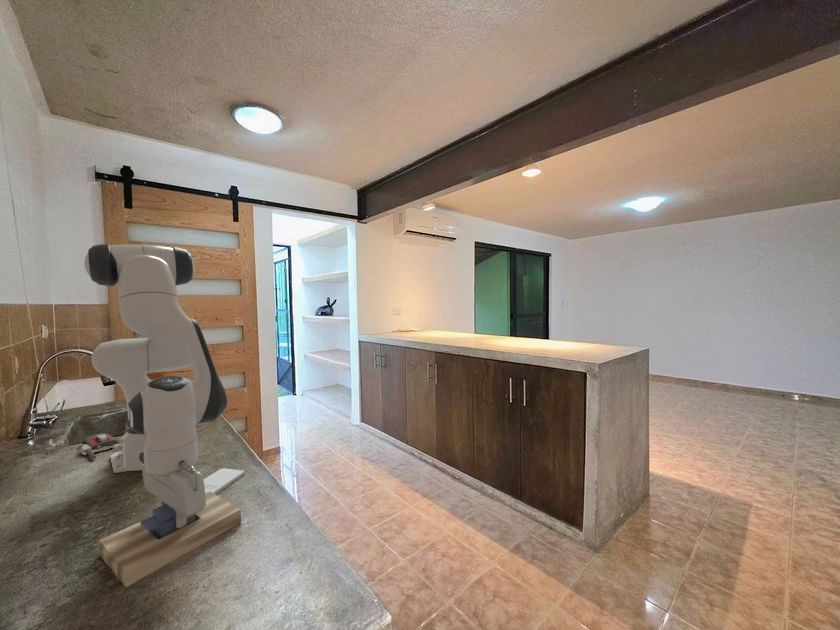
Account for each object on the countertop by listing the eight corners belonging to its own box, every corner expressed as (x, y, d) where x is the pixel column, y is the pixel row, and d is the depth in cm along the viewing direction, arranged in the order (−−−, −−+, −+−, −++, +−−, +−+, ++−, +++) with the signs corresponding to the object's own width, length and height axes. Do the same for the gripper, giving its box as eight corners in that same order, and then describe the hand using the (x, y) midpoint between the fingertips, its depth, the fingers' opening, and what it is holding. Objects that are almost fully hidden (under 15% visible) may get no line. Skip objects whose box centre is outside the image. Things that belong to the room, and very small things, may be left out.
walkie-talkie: (73, 448, 114) (90, 463, 103) (73, 436, 114) (89, 449, 103) (107, 439, 122) (126, 452, 111) (107, 428, 122) (125, 439, 111)
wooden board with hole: (99, 555, 64) (99, 540, 64) (209, 502, 81) (209, 490, 81) (126, 587, 57) (125, 570, 57) (241, 522, 74) (240, 509, 74)
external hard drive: (245, 476, 95) (209, 501, 83) (221, 473, 97) (182, 497, 85) (245, 470, 95) (209, 494, 83) (221, 467, 97) (182, 491, 85)
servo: (141, 539, 66) (140, 511, 66) (196, 512, 74) (195, 487, 74) (149, 547, 64) (148, 517, 63) (205, 518, 72) (204, 492, 72)
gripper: (213, 462, 66) (216, 529, 66) (169, 440, 76) (171, 498, 77) (177, 476, 60) (179, 549, 61) (134, 450, 71) (137, 513, 72)
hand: (174, 520), depth 69 cm, fingers closed on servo, 4 cm apart
